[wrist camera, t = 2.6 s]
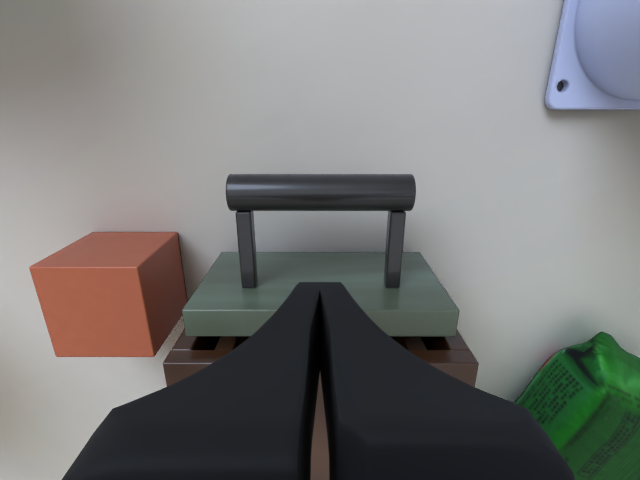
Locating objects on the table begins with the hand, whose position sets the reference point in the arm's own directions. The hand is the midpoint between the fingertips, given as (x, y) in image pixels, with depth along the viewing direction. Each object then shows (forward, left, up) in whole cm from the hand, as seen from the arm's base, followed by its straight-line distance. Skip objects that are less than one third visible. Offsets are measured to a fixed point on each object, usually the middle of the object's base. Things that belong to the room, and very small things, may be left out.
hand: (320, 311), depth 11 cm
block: (+3, -10, -9) cm, 14 cm away
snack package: (+14, +15, -9) cm, 22 cm away
